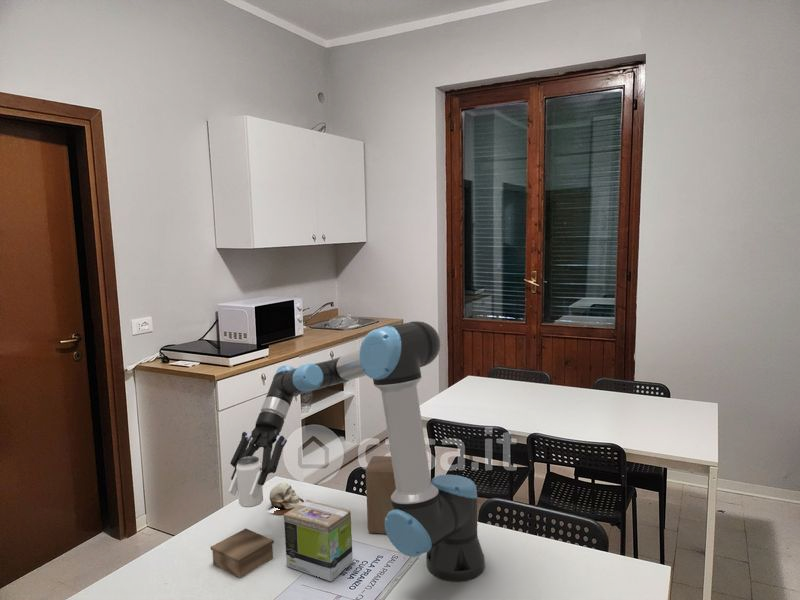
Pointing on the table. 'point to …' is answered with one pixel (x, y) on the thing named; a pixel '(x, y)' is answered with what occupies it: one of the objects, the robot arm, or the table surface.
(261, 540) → the pedestal
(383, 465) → the block
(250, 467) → the can
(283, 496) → the skull
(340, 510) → the tea box
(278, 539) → the table surface
